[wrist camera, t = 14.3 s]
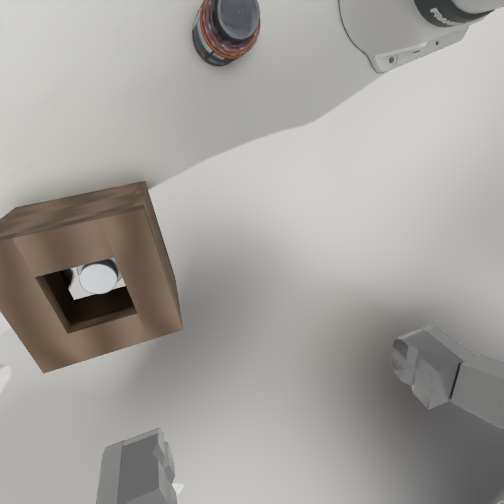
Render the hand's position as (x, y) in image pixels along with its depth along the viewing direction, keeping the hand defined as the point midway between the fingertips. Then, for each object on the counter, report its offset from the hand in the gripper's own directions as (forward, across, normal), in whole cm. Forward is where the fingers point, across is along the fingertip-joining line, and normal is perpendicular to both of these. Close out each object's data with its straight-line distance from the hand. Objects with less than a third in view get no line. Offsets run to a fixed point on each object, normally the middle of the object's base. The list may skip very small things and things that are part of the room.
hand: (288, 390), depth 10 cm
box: (+37, +13, +8) cm, 40 cm away
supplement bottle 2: (+37, -8, -15) cm, 41 cm away
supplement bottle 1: (+37, +13, +8) cm, 40 cm away
